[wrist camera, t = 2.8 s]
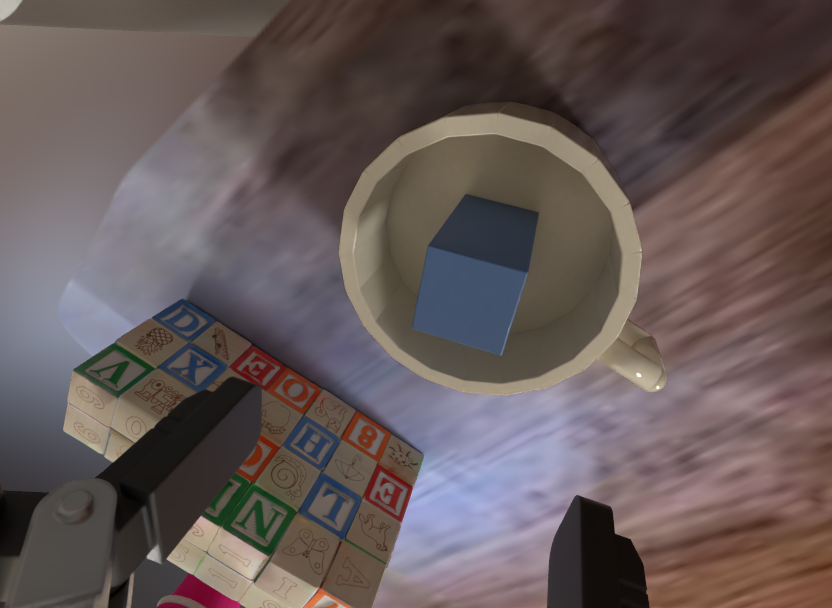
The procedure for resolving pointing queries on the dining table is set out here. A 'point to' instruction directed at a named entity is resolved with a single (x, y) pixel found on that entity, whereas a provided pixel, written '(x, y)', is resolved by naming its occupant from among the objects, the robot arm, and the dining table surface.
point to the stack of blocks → (258, 465)
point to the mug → (550, 262)
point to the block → (476, 273)
